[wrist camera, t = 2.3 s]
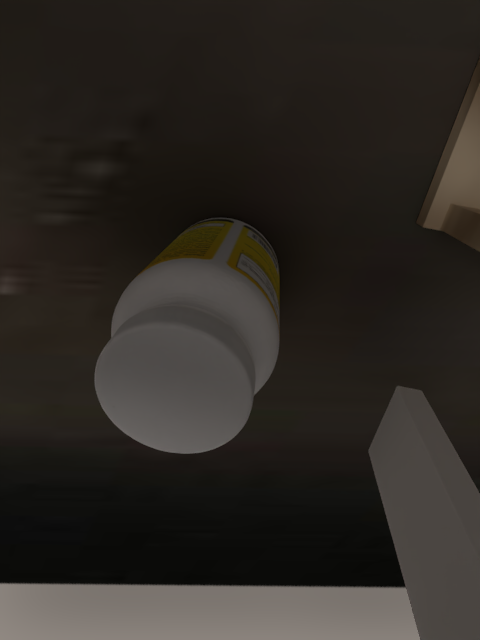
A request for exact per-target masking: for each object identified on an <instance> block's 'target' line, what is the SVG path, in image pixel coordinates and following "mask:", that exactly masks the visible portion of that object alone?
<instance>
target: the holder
mask: <svg viewBox="0 0 480 640" xmlns="http://www.w3.org/2000/svg"><path fill="white" fill-rule="evenodd" d="M416 223H417V224H418V225H420V226H422V227H424V228H429V229H434V230H440V231H444V232H445V233H447V234H449V235H451V236H452V237H454V238H456V239H458V240H460V241H461V242H463V243H465V244H467V245H468V246H470V247H472V248H474V249H475V250H477V251H479V252H480V57H479V60H478V63H477V65H476V68H475V70H474V73H473V76H472V78H471V81H470V83H469V86H468V89H467V91H466V94H465V96H464V99H463V102H462V104H461V107H460V109H459V112H458V115H457V117H456V120H455V122H454V125H453V128H452V130H451V133H450V135H449V138H448V141H447V143H446V146H445V148H444V151H443V154H442V156H441V159H440V161H439V164H438V167H437V169H436V172H435V174H434V177H433V180H432V182H431V185H430V187H429V190H428V193H427V195H426V198H425V200H424V203H423V206H422V208H421V211H420V213H419V216H418V219H417V221H416Z"/></svg>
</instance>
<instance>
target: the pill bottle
mask: <svg viewBox="0 0 480 640" xmlns="http://www.w3.org/2000/svg"><path fill="white" fill-rule="evenodd" d="M279 302H280V273H279V265H278V261H277V257H276V255H275V252H274V250H273V248H272V247H271V245H270V243H269V242H268V241H267V240H266V238H265V237H264V236H263V235H262V234H261V233H260V232H259V231H257V230H256V229H255V228H253V227H252V226H250V225H248V224H246V223H244V222H242V221H239V220H235V219H231V218H210V219H206V220H203V221H200V222H198V223H195V224H194V225H192V226H190V227H189V228H187V229H186V230H185V231H183V232H182V233H181V234H180V235H179V236H178V237H177V238H176V239H175V240H174V241H173V242H172V243H171V244H170V245H169V246H168V247H167V248H166V249H165V250H164V251H162V252H161V253H160V254H159V255H158V256H157V257H156V258H155V259H154V260H153V261H152V262H151V263H150V264H149V265H148V266H147V267H146V268H145V269H144V270H143V271H142V272H140V273H139V274H138V275H137V277H136V278H135V279H134V280H133V281H132V282H131V283H130V284H129V285H128V286H127V288H126V289H125V291H124V292H123V294H122V295H121V297H120V299H119V301H118V303H117V305H116V308H115V310H114V314H113V318H112V327H111V337H112V338H111V339H110V340H109V342H108V343H107V345H106V346H105V347H104V349H103V350H102V352H101V354H100V356H99V358H98V361H97V364H96V368H95V389H96V393H97V396H98V399H99V402H100V404H101V406H102V408H103V410H104V411H105V413H106V414H107V416H108V417H109V418H110V419H111V421H112V422H113V423H114V424H115V425H116V426H117V427H118V428H119V429H121V430H122V431H123V432H124V433H125V434H127V435H128V436H130V437H131V438H133V439H135V440H136V441H138V442H140V443H142V444H144V445H147V446H149V447H152V448H155V449H158V450H162V451H166V452H172V453H184V454H187V453H200V452H205V451H209V450H212V449H215V448H217V447H219V446H221V445H223V444H225V443H227V442H228V441H230V440H231V439H232V438H233V437H235V436H236V435H237V434H238V433H239V432H240V430H241V429H242V428H243V426H244V425H245V423H246V422H247V420H248V418H249V415H250V412H251V408H252V403H253V397H254V395H255V394H256V393H257V392H258V391H259V390H260V389H261V388H262V386H263V385H264V384H265V383H266V381H267V380H268V378H269V377H270V375H271V373H272V371H273V369H274V366H275V364H276V361H277V356H278V351H279V340H280V335H279V334H280V332H279Z"/></svg>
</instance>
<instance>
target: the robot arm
mask: <svg viewBox="0 0 480 640" xmlns="http://www.w3.org/2000/svg"><path fill="white" fill-rule="evenodd" d="M368 451H369V455H370V459H371V462H372V466H373V470H374V473H375V477H376V480H377V484H378V488H379V491H380V495H381V498H382V502H383V506H384V509H385V513H386V517H387V520H388V524H389V527H390V531H391V535H392V538H393V542H394V546H395V549H396V553H397V556H398V560H399V564H400V567H401V571H402V575H403V578H404V582H405V585H406V589H407V593H408V596H409V600H410V604H411V607H412V611H413V614H414V618H415V622H416V625H417V629H418V632H419V636H420V640H480V493H479V492H478V490H477V488H476V486H475V484H474V483H473V481H472V479H471V477H470V476H469V474H468V472H467V470H466V468H465V467H464V465H463V463H462V461H461V460H460V458H459V456H458V454H457V452H456V451H455V449H454V447H453V445H452V444H451V442H450V440H449V438H448V437H447V435H446V433H445V431H444V429H443V428H442V426H441V424H440V422H439V421H438V419H437V417H436V415H435V413H434V412H433V410H432V408H431V406H430V405H429V403H428V401H427V399H426V397H425V396H424V394H423V392H422V391H421V390H416V389H411V388H406V387H401V386H397V387H396V389H395V392H394V394H393V396H392V398H391V401H390V403H389V405H388V407H387V410H386V412H385V414H384V416H383V419H382V421H381V423H380V425H379V428H378V430H377V432H376V434H375V437H374V439H373V441H372V443H371V446H370V448H369V450H368Z"/></svg>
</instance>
